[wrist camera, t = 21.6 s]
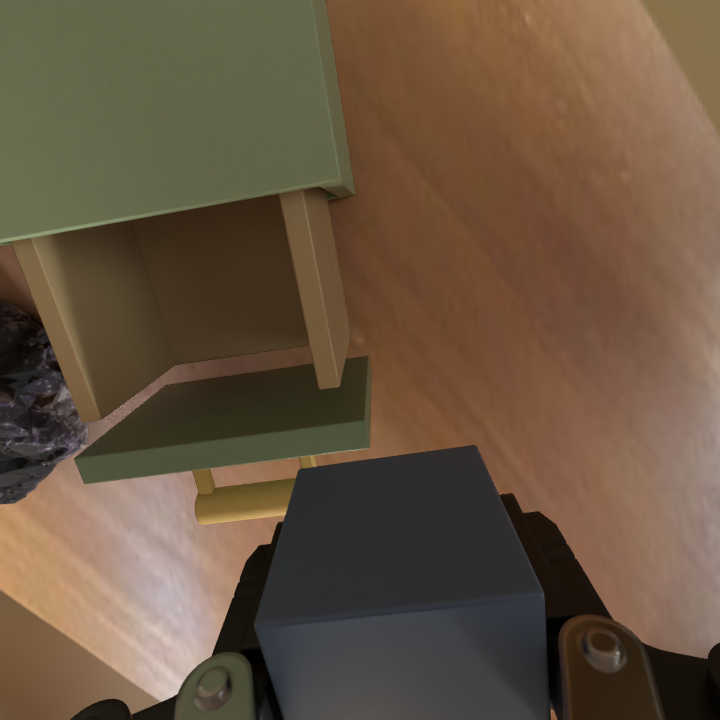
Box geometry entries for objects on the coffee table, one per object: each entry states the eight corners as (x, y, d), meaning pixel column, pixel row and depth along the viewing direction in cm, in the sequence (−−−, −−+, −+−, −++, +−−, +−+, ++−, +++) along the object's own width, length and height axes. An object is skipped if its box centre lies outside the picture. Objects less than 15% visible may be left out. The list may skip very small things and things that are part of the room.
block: (476, 443, 11) (546, 593, 6) (490, 586, 12) (556, 789, 8) (297, 467, 11) (251, 625, 7) (330, 604, 12) (309, 807, 8)
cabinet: (355, 195, 22) (341, 180, 13) (117, 237, 23) (-57, 251, 14) (295, -194, 17) (205, -655, 8) (2, -120, 18) (-369, -454, 9)
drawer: (383, 447, 25) (386, 545, 18) (193, 471, 26) (120, 573, 19) (326, 96, 20) (295, 23, 12) (88, 142, 21) (-75, 101, 13)
